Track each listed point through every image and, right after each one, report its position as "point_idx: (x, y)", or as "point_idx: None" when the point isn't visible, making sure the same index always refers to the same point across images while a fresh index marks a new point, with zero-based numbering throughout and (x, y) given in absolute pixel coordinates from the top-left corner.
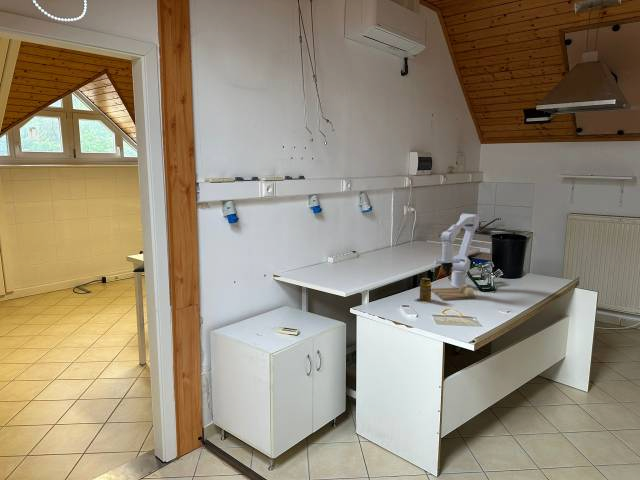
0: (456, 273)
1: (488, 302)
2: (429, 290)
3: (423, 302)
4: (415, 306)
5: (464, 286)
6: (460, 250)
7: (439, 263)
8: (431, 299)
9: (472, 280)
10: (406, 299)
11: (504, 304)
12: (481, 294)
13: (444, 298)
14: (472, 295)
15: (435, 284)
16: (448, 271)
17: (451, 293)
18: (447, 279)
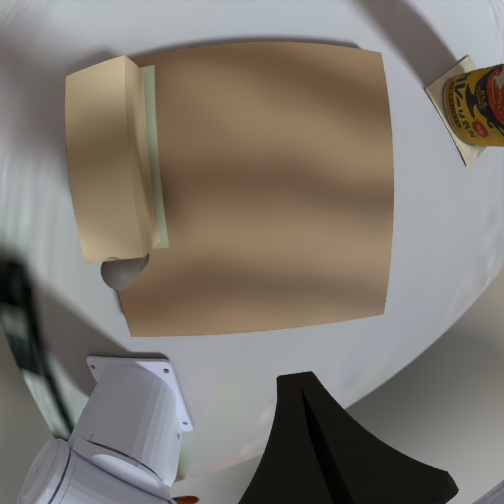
0: (142, 457)
1: (67, 16)
2: (501, 64)
3: (475, 68)
4: (496, 42)
5: (113, 181)
6: None
7: (487, 498)
8: (437, 101)
9: None
10: None
11: (22, 11)
12: (32, 191)
13: (367, 53)
14: None
15: None
16: (300, 425)
17: (275, 147)
18: (189, 471)
